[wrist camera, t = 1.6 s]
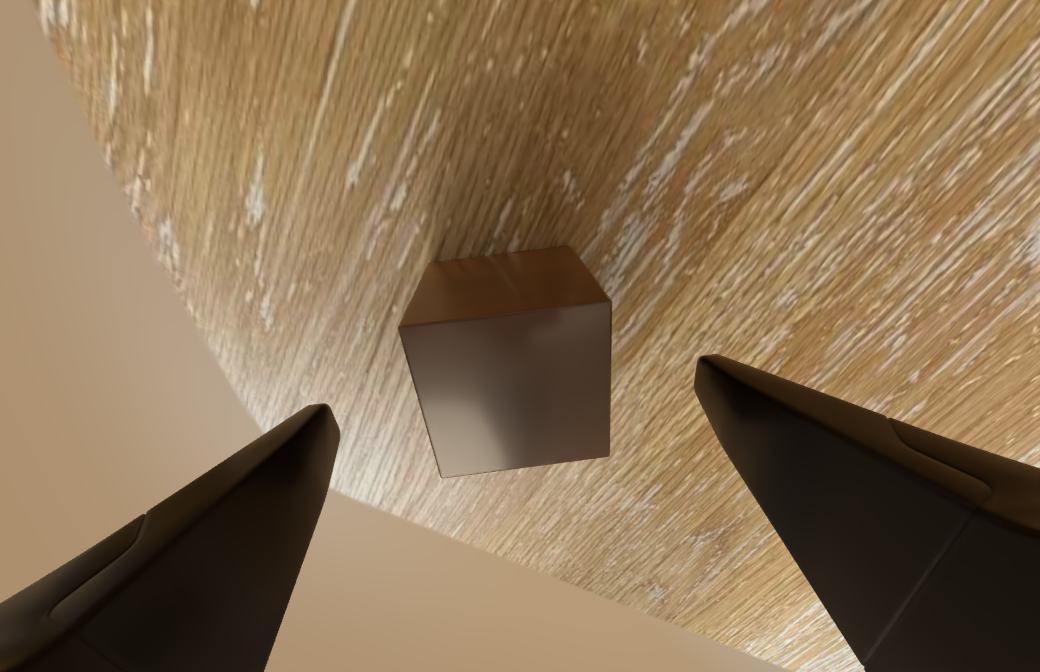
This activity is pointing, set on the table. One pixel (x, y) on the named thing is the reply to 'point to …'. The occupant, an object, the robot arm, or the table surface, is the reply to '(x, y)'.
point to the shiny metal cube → (511, 361)
